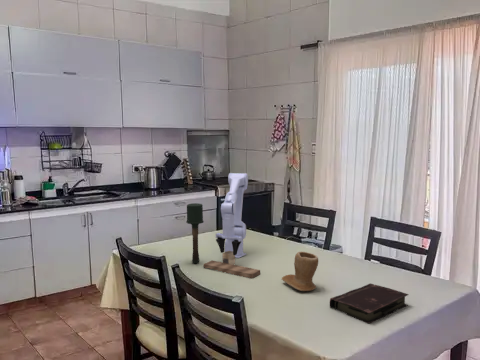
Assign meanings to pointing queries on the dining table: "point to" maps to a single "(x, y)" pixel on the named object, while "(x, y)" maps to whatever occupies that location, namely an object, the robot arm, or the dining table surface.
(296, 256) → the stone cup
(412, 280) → the dining table surface
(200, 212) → the potato masher grenade
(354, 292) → the diary
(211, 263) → the board
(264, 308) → the dining table surface
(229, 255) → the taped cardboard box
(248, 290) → the dining table surface
